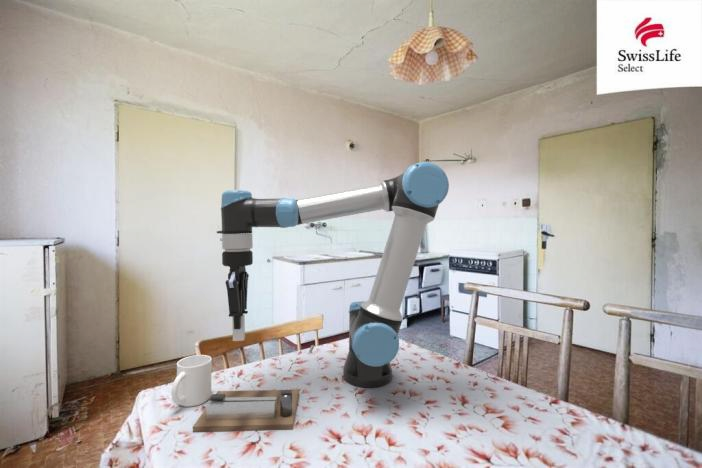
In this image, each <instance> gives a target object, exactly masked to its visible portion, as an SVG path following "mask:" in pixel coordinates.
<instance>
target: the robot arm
mask: <svg viewBox="0 0 702 468" xmlns="http://www.w3.org/2000/svg"><path fill="white" fill-rule="evenodd" d="M449 189H450V183H449V179H448V176H447V174H446V171H444V170H443V169H442V167H440V166H439V165H438V164H436V163H433V162H429V161H421V162H418V163H414V164H412V165H410V166H409V167H408V168H407V169H406V170H405V171H404V172H402V173H401V174H399V175H398V176H396V177H393V178H389V179H384V180H381V181H380V183H379V184H377V185H370V186H364V187H361V188H354V189H349V190H343V191H337V192H331V193H326V194H321V195H315V196H310V197H306V198H305V197H304V198H299V199H295V198H286V197H281V198H254V197H253V196H252V192H251V191H249V190H241V189H240V190H238V189H233V190H225V191H223V192H222V194H221V204H220V205H221V207H220V212H221V214H220V215H221V237H220V239H219V241H220V242H222V243H221V244H222V245H221V246H222V250H223V252H222V253H221V263H222V266H224V267H229V273H228V274H227V279H226V280H225V285H226V293H227V302H228V317H229V318H231V317H232V319H231V320H232V321H231V322H232V342H242V341H243V342H244V341H245V340H246V329H245V328H246V327H245V326H246V325H245V320H246V319H245V318H246V317H245V315H246V314H249V312H248V310H247V308H248V307H247V306H248V303H247V302H248V288H249V286H248V285H249V277H250V275H249V273H248V271H246V270H247V269H246V267H247V266H251V265H252V264H253V259H254V258H253V257H254V256H253V251H252V250H251V249H253V248H254V247H253V246H254V244H253V228H281V229H285V228H292V227H293V228H294V227H296V226H299V225H304V224H309V223H314V222H320V221H325V220H330V219H337V218H342V217H349V216H353V215H358V214H364V213H369V212H375V211H381V210H384V211H385V212H387V213H389V212H394V218H393V221H392V223H391V228H390V231H389V234H388V238H387V241H386V243H385V246H384V250H383V253H382V257H381V260H380V263H379V266H378V269H377V273H376V275H375V278H374V281H373V285H372V288H371V291H370V295H369V297H368V299H367V300H366V301H364V300H363V301H354V302H351V303H350V304H349V310H348V314H349V317H348V318H349V320H348V321H349V323H348V324H349V325H348V330H349V331H348V332H349V336H348V337H349V338H348V339H349V340H348V353H347V356H346V359H345V361H344V365H343V369H342V374H343V375H342V377H343V379H344V380H345V381H346V383H348V384H350V385H353V386H356V387H361V388H377V387H378V388H379V387H383V386H385V385H387V384H390V382H391V381H392V379H393V368H392V365H391V362H392V361H393V360H394V359H395V358H396V357H397V355H398V353H399V349H400V337H399V333H400V329H401V326H402V323H403V320H404V318H403V315H402V313H401V312H400V311H401V306H402V303H403V300H404V296H405V293H406V290H407V289H408V288H407V287H408V285H409V280H410V277H411V274H412V272H413V267H414V266H415V263H416V258H417V256H418V251H419V249H420V246H421V242H422V241H423V240H422V239H423V236H424V233H425V230H426V227H427V225H428V224H430V223H431V222H434V221H435V217H436V215H437V211H438V209H439V205H441V203H442V202H444V200H445V199H446V197H447V195H448V193H449Z"/></svg>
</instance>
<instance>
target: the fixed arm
mask: <svg viewBox="0 0 702 468" xmlns="http://www.w3.org/2000/svg"><path fill="white" fill-rule="evenodd" d="M275 406H276V401H251V402H210V401H209V402H208V403H207V404H206V407H205V409H206V420H230V419H270V418H275ZM291 415H292V391H281V394H280V416H281V417H290V416H291Z"/></svg>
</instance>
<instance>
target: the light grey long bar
mask: <svg viewBox="0 0 702 468" xmlns="http://www.w3.org/2000/svg"><path fill="white" fill-rule="evenodd" d="M251 401H276V406H275V413H276V410H277V397H225V394H216V393H211V396H210V398H209V402H251Z"/></svg>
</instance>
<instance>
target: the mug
mask: <svg viewBox="0 0 702 468" xmlns="http://www.w3.org/2000/svg"><path fill="white" fill-rule="evenodd" d="M212 364H213V363H212V356H210V355H205V354H195V355H194V354H193V355H189V356H186V357H185V356H184V357H183V358H181V359H180V360H178V361H177V362H176V377H175V379H174V381H173V383H172V387H171V399H172V402H173V403H174V404H176V405H177V404H178V405H179V406H181V407H186V408H187V407H188V408H189V407H190V408H192V407H195V406H200V405H202V404H205V403H206V402H207V401H208V400H210V397H211V396H212V374H213V373H212V368H213V367H212Z"/></svg>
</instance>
